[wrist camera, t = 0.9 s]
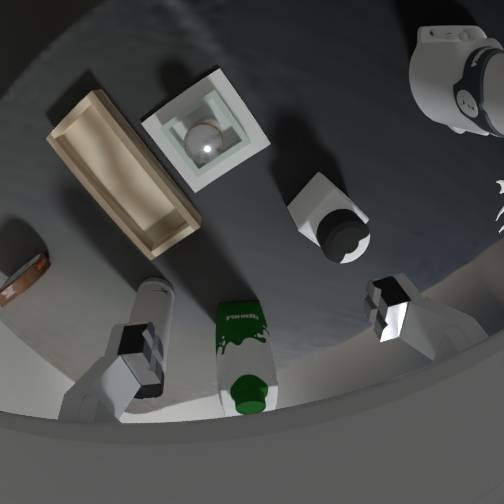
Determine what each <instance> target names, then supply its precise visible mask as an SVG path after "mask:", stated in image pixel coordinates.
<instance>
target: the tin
mask: <svg viewBox="0 0 504 504" xmlns="http://www.w3.org/2000/svg"><path fill="white" fill-rule="evenodd" d="M50 266H51V262H50V261H49V260H48V259H47V257H46V256H45V255H44V253H40V254H38V255H37V256H35V257H34V258H33V259H31V260H30V261H28V262H27V263H26V264H24V265H23V266H22V267H21V268H20V269H18V270H17V271H16V272H15V273H14V274H13V275H12V276H11V277H10V278H9V279H8V280H7V281H6V282H5V283H4V285H3V286H2V288H1V289H0V305H1V307H4V306H6V305H7V304H8V303H10V302H11V301H13V300H14V299H16V298H17V297H19V296H20V295H21V294H23V293H24V292H26V291H27V290H28V289H29V288H30V287H31V286H33V285H34V284H35V283H36V282H37V281H38V280H39V279H40V278H41V277H42V276H43V275H44V274H45V272H46V271H47V270H48V269H49V267H50Z"/></svg>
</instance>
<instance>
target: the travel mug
mask: <svg viewBox="0 0 504 504" xmlns="http://www.w3.org/2000/svg"><path fill="white" fill-rule="evenodd" d="M174 296H175V292H174V289H173V287H172V285H171V284H170V283H169V282H167V281H166V280H164V279H161V278H157V277H152V278H147V279H145V280H143V281H142V282H141V283H140V285H139V288H138V291H137V295H136V298H135V302H134V305H133V309H132V313H131V316H130V320H129V323H137V322H146V321H150V322H152V323H153V325H154V327H155V333H154V334H156V335H158V336H159V337H160V339H161V342H162V345H163V352H164V357H163V361H162V362H161V363H160V366H161V368H162V378H161V383H158V384H148V385H140V386H141V387H140V388H139V390H138V391H137V393H136V394H135V396H134V397H133V398H137V399H143V398H152V397H155V398H156V397H159V396H161V395H162V394H163V386H164V378H165V370H166V360H167V351H168V342H169V333H170V325H171V318H172V310H173V303H174Z"/></svg>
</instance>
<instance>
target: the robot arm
mask: <svg viewBox="0 0 504 504" xmlns="http://www.w3.org/2000/svg"><path fill="white" fill-rule="evenodd" d="M430 32H431V33H432V35H430ZM409 80H410V86H411V90H412V93H413V96H414V98H415V100H416V102H417V104H418V106H419V107H420V109H421V110H422V111H423V112H424V113H425V114H426V115H427V116H428V117H429V118H430V119H432V120H434V121H436V122H439V123H443V124H446V125H448V126H449V127H450V128H451V129H452V130H453V131H455V132H456V133H460V134H461V133H463V132H465V131H470V132H474V133H478V134H482V135H488V134H489V133H490V134H492V135H494V136H498V137H502V138H504V50H503V48H502V46H501V45H500V44H499V42H498V41H497V40H495V39H494V38H487V37H486V35H485V34H484V32H483V31H482V30H481V29H480V28H479V27H478V26H470V25H445V26H423V27H420V28H419V29H418V33H417V46H416V49H415V51H414V53H413V55H412V58H411V61H410V66H409ZM366 291H367V292H368V295H367V297H366V298H365V301H364V308H365V314H366V316H367V319H368V320H369V322H371V323H373V324H375V326H374V331H375V333H376V335H377V337H378V338H379V340H380V342H382V341H385V340H389V339H392V338H396V337H400V338H401V339H403V340H404V341H405V342H407V343H408V344H410V345H411V346H413V347H414V348H416V349H417V350H419V351H420V352H422V353H423V354H425V355H426V356H427V357H429V358H431V359H432V360H433V361H432V363H431V364H430V365H427V366H425V367H422V368H420V369H417V370H415V371H412V372H409V373H407V374H404V375H401V376H399V377H396V378H393V379H390V380H387V381H384V382H381V383H378V384H375V385H372V386H368V387H365V388H362V389H359V390H355V391H352V392H349V393H345V394H341V395H338V396H334V397H330V398H326V399H322V400H318V401H314V402H310V403H305V404H301V405H296V406H291V407H286V408H281V409H276V410H270V411H265V412H259V413H253V414H246V415H239V416H232V417H224V418H217V419H216V418H215V419H206V420H196V421H183V422H165V423H121V422H120V421H119V418H120V417H121V415H122V414H123V412H124V411H125V409H126V408H127V406H128V405H129V403H130V402H131V400H132V399H133V397H134V396H135V394H136V393H137V391H138V390H139V388H140V387H141V386H140V385H148V384H158V383H161V378H162V368H161V366H160V363H161V362H162V361H163V357H164V352H163V345H162V342H161V339H160V337H159V336H158V335H156V334H154V333H155V327H154V325H153V323H152V322H150V321H146V322H137V323H127V324H119V325H114V326H113V328H112V331H111V334H110V338H109V341H108V345H107V348H106V352H105V356H104V357H100V358H99V359H98V360H97V361H96V362H95V363H94V364H93V366H92V367H91V368H90V369H89V370H88V371H87V372H86V373H85V374H84V375H83V376H82V377H81V378H80V379H79V380H78V381H77V382H76V383H75V384H74V385H73V386H72V387H71V388H70V389H69V390H68V391H67V392H66V394H64V398H63V401H62V405H61V409H60V413H59V416H58V420H56V419H47V418H39V417H32V416H25V415H19V414H13V413H8V412H3V411H0V504H504V329H503V330H502V331H500V332H498V333H496V334H494V335H492V336H490V337H488V336H487V334H486V333H485V332H484V330H483V329H482V328H481V327H480V325H479V324H478V323H477V322H476V320H475V319H474V318H473V317H471V316H469V315H466V314H464V313H462V312H459V311H458V310H455V309H453V308H451V307H449V306H446V305H444V304H442V303H440V302H437V301H435V300H433V299H431V298H428V297H424V298H423V296H422V295H421V294H420V292H419V291H418V290H417V289H416V288H415V286H414V285H413V284H412V283H411V281H410V280H409V279H408V278H407V277H406V275H405V274H403V273H399V274H395V275H392V276H388V277H384V278H380V279H376V280H372V281H368V283H367V286H366Z"/></svg>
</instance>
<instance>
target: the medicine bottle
mask: <svg viewBox="0 0 504 504" xmlns="http://www.w3.org/2000/svg"><path fill="white" fill-rule="evenodd" d="M287 210H288V212H289V214H290V216H291V218H292V220H293V222H294V224H295V226H296V228H297V230H298V231H299V232H301V233H302V234H303V235H305V236H306V237H308V238H309V239H310V240H312V241H313V242H314V243H316V244H317V245H318V246H320V247H321V249H322V250H323V252H324V254H325V255H326V257H327V258H328V259H330V260H331V261H333V262H336V263H346V262H350V261H353V260H355V259H356V258H358V257H359V256H360V255H361V254H362V253H363V252H364V251H365V249H366V248H367V246H368V243H369V240H370V232H369V228H368V226H367V225H366V223H367V222H368V217H367V216H366V215H365V214H364V213H363V212H362V211H361V210H360V209H359V208H358V207H357V206H356V205H355V204H354V203H353V202H352V201H351V200H350V199H349V198H348V197H347V196H346V195H345V194H344V193H343V192H342V191H341V190H340V189H339V188H337V187H336V186H335V185H334V184H333V183H332V182H331V181H330V180H328V179H327V178H326V177H325V176H324V175H323V174H322V173H320V172H318V173H316V175H315V176H314V177H313V178H312V179H311V180H310V181H309V182H308V184H307V185H306V186H305V187H304V188H303V189H302V190H301V192H300V193H299V194H298V195H297V196H296V197H295V198H294V199H293V201H292V202H291V203H290V204H289V205H288V206H287Z"/></svg>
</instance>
